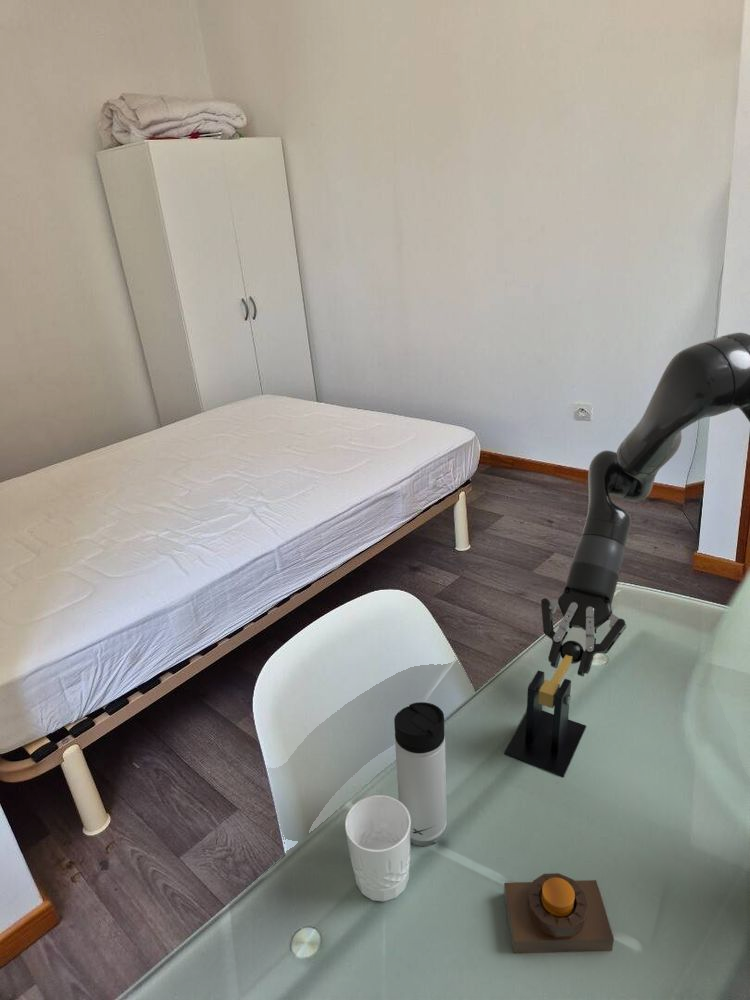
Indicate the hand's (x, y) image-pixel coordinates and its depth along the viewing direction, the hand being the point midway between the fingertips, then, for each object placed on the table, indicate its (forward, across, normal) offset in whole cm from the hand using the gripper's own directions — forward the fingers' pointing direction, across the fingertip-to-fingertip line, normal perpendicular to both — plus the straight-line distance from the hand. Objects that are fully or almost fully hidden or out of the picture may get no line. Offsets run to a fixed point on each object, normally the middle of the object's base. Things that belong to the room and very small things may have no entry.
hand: (567, 670), depth 108 cm
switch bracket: (+12, 0, -1) cm, 12 cm away
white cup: (+33, -11, -22) cm, 42 cm away
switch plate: (+30, +10, -19) cm, 37 cm away
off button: (+27, +10, -21) cm, 36 cm away
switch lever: (+2, 0, -3) cm, 3 cm away
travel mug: (+27, -9, -16) cm, 33 cm away
